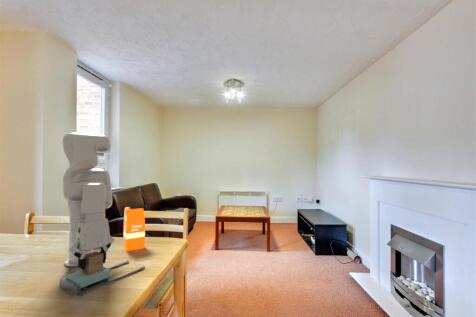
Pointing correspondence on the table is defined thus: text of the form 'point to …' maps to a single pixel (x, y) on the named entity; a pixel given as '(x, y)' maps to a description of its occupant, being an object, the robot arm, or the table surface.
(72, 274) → the sage green box
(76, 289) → the track
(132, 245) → the orange juice
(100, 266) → the block
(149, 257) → the table surface
